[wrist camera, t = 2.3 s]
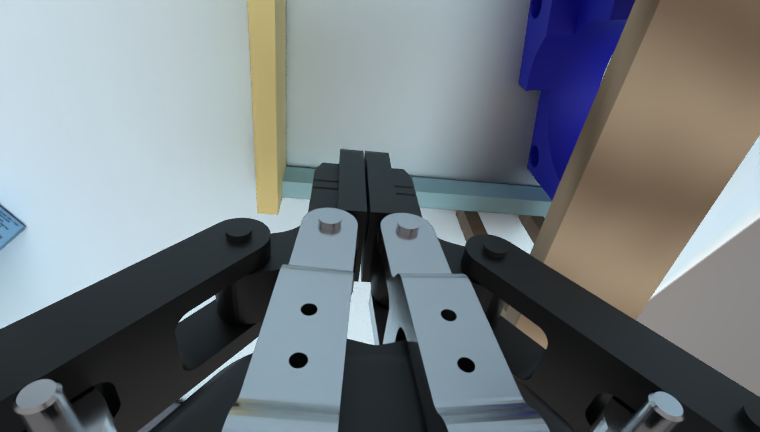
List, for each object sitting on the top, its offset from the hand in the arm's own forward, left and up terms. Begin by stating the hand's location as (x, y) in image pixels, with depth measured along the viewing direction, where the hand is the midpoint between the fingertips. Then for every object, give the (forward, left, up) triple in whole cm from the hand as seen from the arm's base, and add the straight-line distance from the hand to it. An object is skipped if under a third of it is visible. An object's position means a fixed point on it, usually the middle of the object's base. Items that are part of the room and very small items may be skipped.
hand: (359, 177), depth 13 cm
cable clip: (0, +12, -14) cm, 19 cm away
